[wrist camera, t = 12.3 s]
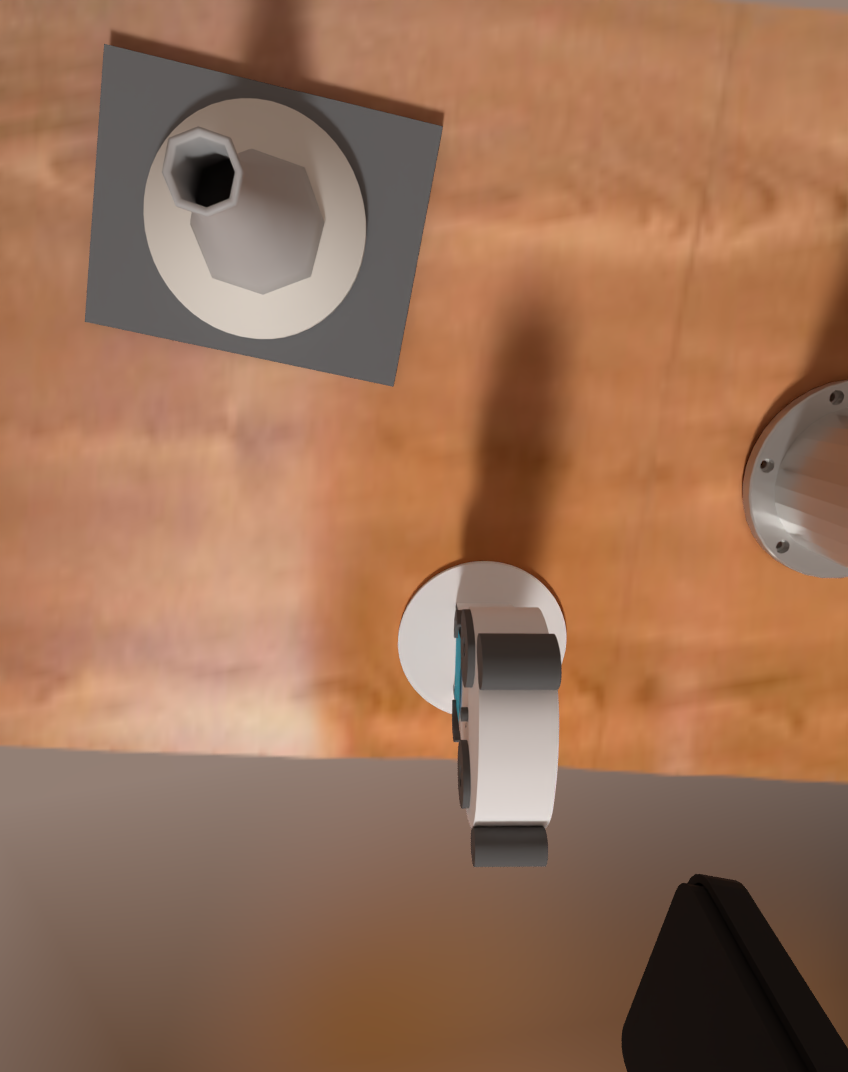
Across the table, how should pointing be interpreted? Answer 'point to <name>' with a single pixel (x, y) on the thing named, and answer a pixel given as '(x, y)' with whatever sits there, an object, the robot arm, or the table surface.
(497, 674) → the white upright piece
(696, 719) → the table surface
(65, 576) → the table surface
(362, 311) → the saucer mat
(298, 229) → the flask
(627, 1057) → the robot arm
